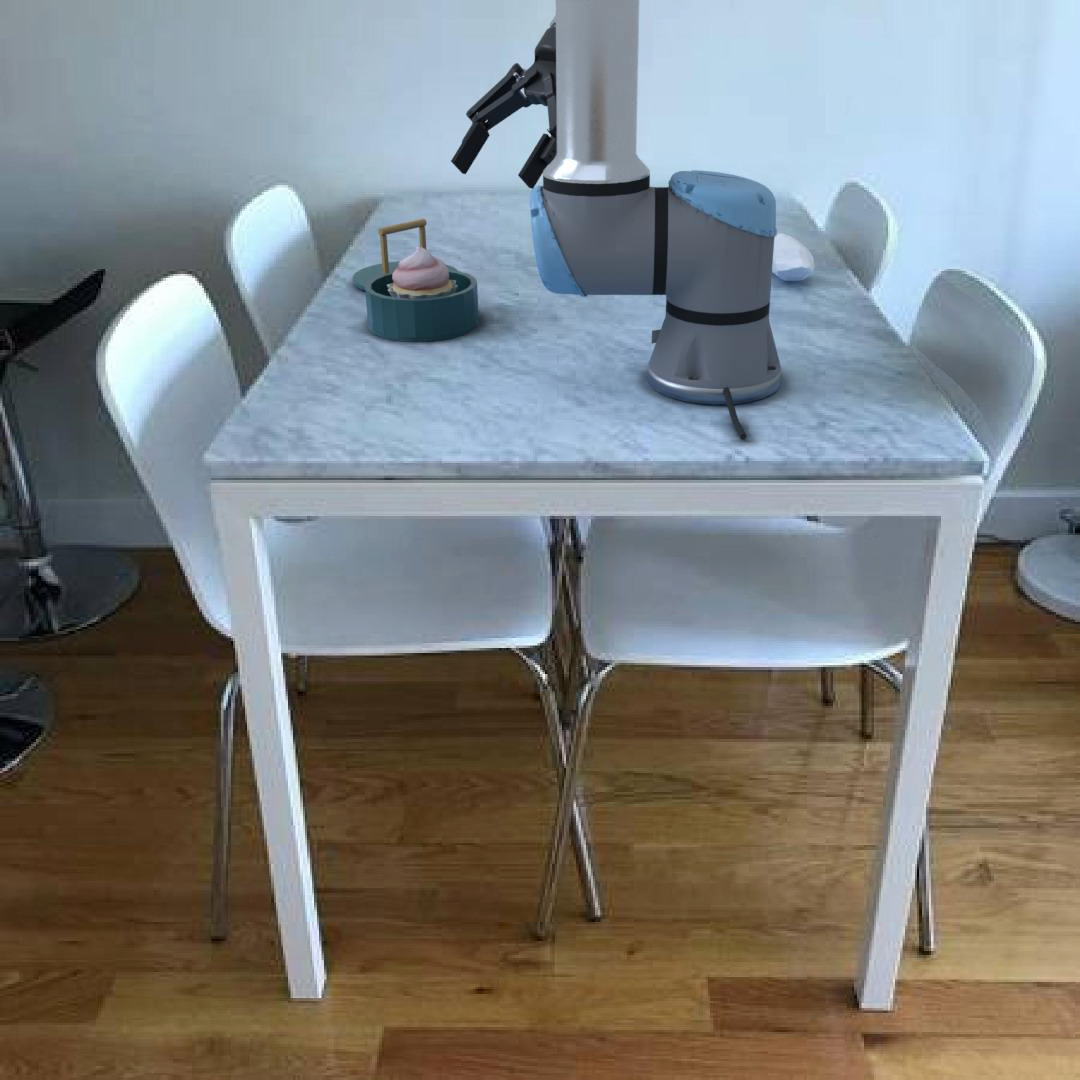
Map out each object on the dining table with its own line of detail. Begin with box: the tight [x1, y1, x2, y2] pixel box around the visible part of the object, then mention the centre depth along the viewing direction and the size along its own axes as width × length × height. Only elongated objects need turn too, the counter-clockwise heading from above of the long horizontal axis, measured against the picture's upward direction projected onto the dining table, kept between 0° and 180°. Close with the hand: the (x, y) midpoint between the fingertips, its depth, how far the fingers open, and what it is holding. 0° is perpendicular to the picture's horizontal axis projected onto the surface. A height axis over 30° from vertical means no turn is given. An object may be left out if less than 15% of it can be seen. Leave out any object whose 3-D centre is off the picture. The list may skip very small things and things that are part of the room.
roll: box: [772, 232, 815, 282], centre depth 178 cm, size 6×12×6 cm, turn 7°
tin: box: [364, 270, 480, 343], centre depth 163 cm, size 15×15×6 cm
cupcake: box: [387, 245, 458, 299], centre depth 161 cm, size 9×9×10 cm
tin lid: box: [352, 218, 459, 291], centre depth 179 cm, size 16×16×9 cm
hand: (490, 175), depth 163 cm, fingers open, 13 cm apart
